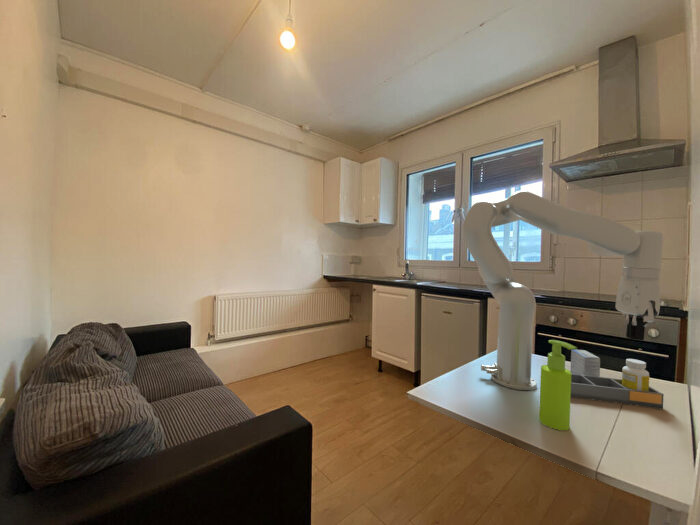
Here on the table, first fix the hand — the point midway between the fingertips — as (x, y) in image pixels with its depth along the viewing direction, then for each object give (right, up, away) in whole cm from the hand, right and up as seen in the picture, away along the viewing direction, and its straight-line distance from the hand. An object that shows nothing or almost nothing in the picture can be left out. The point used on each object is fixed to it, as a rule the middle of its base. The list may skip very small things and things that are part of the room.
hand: (634, 338), depth 79 cm
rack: (-7, -17, +2) cm, 19 cm away
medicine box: (-3, -17, +14) cm, 22 cm away
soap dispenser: (-32, -17, -13) cm, 39 cm away
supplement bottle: (0, -16, 0) cm, 16 cm away
